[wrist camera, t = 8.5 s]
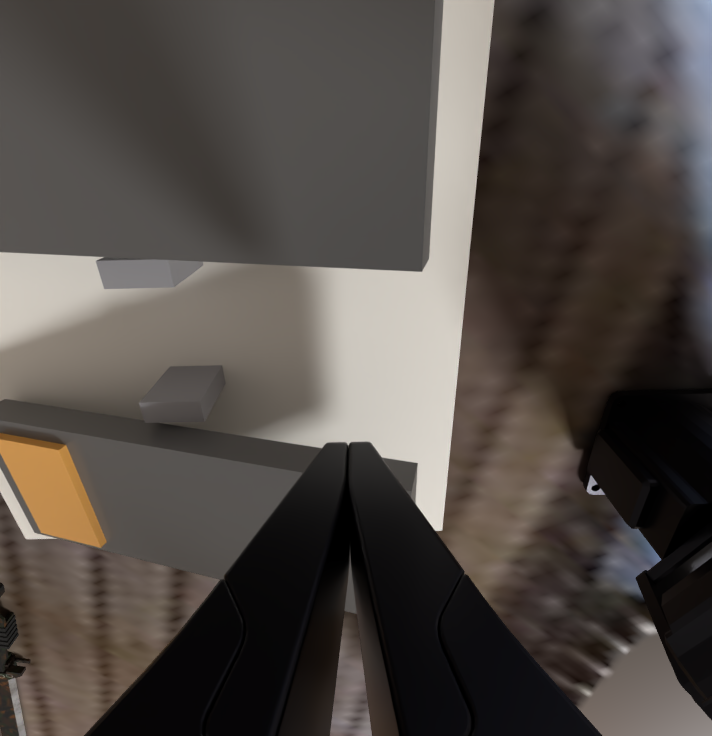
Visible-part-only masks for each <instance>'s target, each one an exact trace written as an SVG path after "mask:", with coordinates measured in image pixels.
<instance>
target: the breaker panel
mask: <svg viewBox="0 0 712 736" xmlns="http://www.w3.org/2000/svg"><path fill="white" fill-rule="evenodd" d="M494 1H495V0H444V2H443V20H442V38H441V55H440V73H439V91H438V109H437V127H436V145H435V163H434V180H433V198H432V216H431V234H430V252H429V260H428V262H427V264H426V265H425V267H424V269H423V271H422V272H414V271H392V270H371V269H349V268H328V267H307V266H285V265H264V264H242V263H221V262H199V261H178V260H156V259H135V258H113V257H92V256H70V255H49V254H28V253H6V252H0V401H2V400H4V399H9V400H16V401H22V402H28V403H35V404H41V405H48V406H54V407H61V408H67V409H73V410H80V411H86V412H93V413H99V414H106V415H112V416H118V417H125V418H131V419H138V420H144V421H145V423H163V424H170V425H176V426H183V427H189V428H196V429H202V430H208V431H215V432H221V433H228V434H234V435H240V436H247V437H253V438H260V439H266V440H273V441H279V442H285V443H292V444H298V445H305V446H311V447H318V448H322V447H323V446H324V445H325V444H326V443H328V442H346V443H347V444H348V446H349V443H351V442H364V441H368V442H371V443H372V444H373V446H374V447H375V449H376V450H377V451H378V453H379V454H380V455H381V457H382V458H388V459H395V460H401V461H408V462H414V463H418V467H417V485H416V503H415V504H416V505H417V506H418V508H419V509H420V511H421V512H422V513H423V515H424V516H425V517H426V519H427V520H428V522H429V523H430V524H431V526H432V527H433V528H434V530H435V531H442V526H443V516H444V506H445V496H446V485H447V475H448V465H449V455H450V445H451V435H452V425H453V415H454V405H455V395H456V384H457V374H458V364H459V354H460V344H461V334H462V324H463V314H464V304H465V294H466V283H467V273H468V263H469V253H470V243H471V233H472V223H473V213H474V203H475V193H476V182H477V172H478V162H479V152H480V142H481V132H482V122H483V112H484V102H485V92H486V81H487V71H488V61H489V51H490V41H491V31H492V21H493V11H494ZM0 492H1V494H2V496H3V498H4V500H5V502H6V503H7V505H8V507H9V509H10V511H11V513H12V514H13V516H14V518H15V520H16V522H17V524H18V525H19V527H20V529H21V531H22V533H23V535H24V536H25V538H26V539H57V538H53V537H49V536H45V535H41V534H37V533H34V531H33V529H32V527H31V525H30V523H29V522H28V520H27V518H26V516H25V514H24V512H23V510H22V508H21V506H20V504H19V502H18V501H17V499H16V497H15V495H14V493H13V491H12V489H11V487H10V485H9V483H8V482H7V480H6V478H5V476H4V474H3V472H2V470H1V468H0Z"/></svg>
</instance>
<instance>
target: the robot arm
mask: <svg viewBox="0 0 712 736" xmlns="http://www.w3.org/2000/svg"><path fill="white" fill-rule="evenodd" d="M620 400H622V402H621V403H619V404H617V403H618V402H619V401H620ZM583 486H584V488H585V489H586V490H587V492H588V493H589V494H593V495H601V494H605V495H606V496H607V498H608V499H609V500H610V502H611V503H612V504H613V506H614V507H615V509H616V510H617V511H618V513H619V514H620V515H621V517H622V518H623V519H624V521H625V522H626V524H628V525H629V526H630V527H631V528H632V529H639V530H640V532H641V533H642V534H643V536H644V537H645V538H646V539H647V541H648V542H649V543H650V545H651V546H652V547H653V549H654V550H655V551H656V553H657V554H658V555H659V557H660V558H661V559H662V560H661V561H660V562H659V563H657V564H656V565H655V566H654V567H652V568H651V569H650V570H648V571H647V570H644V571H643V572H642V573H641V574H639V575H638V576H637V577H636V580H637V583H638V585H639V588H640V590H641V593H642V595H643V597H644V600H645V602H646V605H647V607H648V610H649V612H650V615H651V617H652V619H653V622H654V624H655V627H656V629H657V632H658V634H659V637H660V639H661V641H662V644H663V646H664V648H665V651H666V654H667V656H668V659H669V661H670V662H671V665H672V667H673V670H674V672H675V674H676V677H677V679H678V681H679V683H680V684H681V686H682V687H683V688H684V689H685V690H686V691H687V692H688V693H689V694H690V695H691V696H692V698H693V699H694V701H695V702H696V703H697V704H698V705H699V706H700V707H701V709H702V710H703V711H704V712H705V713H706V714H707V716H708V717H709V718H711V720H712V389H698V390H653V391H619V392H615V393H613V394H612V395H611V396H610V397H609V399H608V401H607V405H606V408H605V411H604V415H603V418H602V422H601V425H600V428H599V431H598V433H597V435H596V438H595V442H594V445H593V449H592V452H591V455H590V459H589V462H588V466H587V473H586V476H585V479H584V483H583ZM350 557H351V571H352V580H353V588H354V596H355V604H356V612H357V620H358V628H359V636H360V643H361V651H362V659H363V667H364V675H365V683H366V691H367V699H368V707H369V714H370V722H371V730H372V736H602V735H601V734H600V733H599V731H598V730H597V729H596V728H595V727H594V726H593V725H592V723H591V722H590V721H589V720H588V719H587V718H586V717H585V716H584V715H583V714H582V712H581V711H580V710H579V709H578V708H577V707H576V706H575V705H574V703H573V702H572V701H571V700H570V699H569V698H568V697H567V696H566V694H565V693H564V692H563V691H562V690H561V689H560V688H559V687H558V686H557V684H556V683H555V682H554V681H553V680H552V679H551V678H550V677H549V676H548V674H547V673H546V672H545V671H544V670H543V669H542V668H541V667H540V665H539V664H538V663H537V662H536V661H535V660H534V658H533V657H532V656H531V655H530V654H529V653H528V652H527V650H526V649H525V648H524V647H523V646H522V645H521V643H520V642H519V641H518V640H517V639H516V638H515V636H514V635H513V634H512V633H511V632H510V631H509V629H508V628H507V627H506V626H505V624H504V623H503V622H502V620H501V619H500V618H499V617H498V615H497V614H496V613H495V611H494V610H493V609H492V607H491V606H490V605H489V604H488V602H487V601H486V600H485V598H484V597H483V596H482V594H481V593H480V592H479V590H478V589H477V587H476V586H475V585H474V583H473V582H472V581H471V579H470V578H469V576H468V575H466V574H464V570H463V568H462V567H461V566H460V564H459V563H458V562H457V560H456V559H455V557H454V556H453V555H452V553H451V552H450V551H449V549H448V548H447V546H446V545H445V544H444V542H443V541H442V540H441V538H440V537H439V535H438V534H437V533H436V531H435V530H434V528H433V527H432V526H431V524H430V523H429V522H428V520H427V519H426V517H425V516H424V515H423V513H422V512H421V511H420V509H419V508H418V506H417V505H416V504H415V502H414V501H413V500H412V498H411V497H410V495H409V494H408V493H407V491H406V490H405V489H404V487H403V486H402V484H401V483H400V482H399V480H398V479H397V477H396V476H395V475H394V473H393V472H392V471H391V469H390V468H389V466H388V465H387V464H386V462H385V461H384V460H383V458H382V457H381V455H380V454H379V453H378V451H377V450H376V449H375V447H374V446H373V444H372V443H371V442H368V441H364V442H351V443H349V446H348V444H347V443H346V442H328V443H326V444H325V445H324V446H323V447H322V449H321V450H320V451H319V453H318V454H317V455H316V457H315V458H314V459H313V460H312V462H311V463H310V464H309V466H308V467H307V468H306V470H305V471H304V472H303V473H302V475H301V476H300V477H299V479H298V480H297V481H296V483H295V484H294V485H293V486H292V488H291V489H290V490H289V492H288V493H287V494H286V496H285V497H284V498H283V499H282V501H281V502H280V503H279V505H278V506H277V507H276V509H275V510H274V511H273V512H272V514H271V515H270V516H269V518H268V519H267V520H266V522H265V523H264V524H263V525H262V527H261V528H260V529H259V531H258V532H257V533H256V535H255V536H254V537H253V538H252V540H251V541H250V542H249V544H248V545H247V546H246V547H245V549H244V550H243V551H242V553H241V554H240V555H239V557H238V558H237V559H236V560H235V562H234V563H233V564H232V566H231V567H230V568H229V570H228V571H227V572H226V573H225V575H224V579H221V580H220V581H219V582H218V583H217V585H216V586H215V587H214V589H213V590H212V591H211V593H210V594H209V595H208V597H207V598H206V599H205V600H204V602H203V603H202V604H201V605H200V607H199V608H198V609H197V610H196V611H195V613H194V614H193V615H192V616H191V618H190V619H189V620H188V621H187V623H186V624H185V625H184V626H183V627H182V629H181V630H180V631H179V632H178V634H177V635H176V636H175V637H174V638H173V639H172V640H171V641H170V643H169V644H168V645H167V646H166V647H165V648H164V649H163V650H162V652H161V653H160V654H159V655H158V656H157V657H156V658H155V659H154V660H153V662H152V663H151V664H150V665H149V666H148V667H147V668H146V669H145V671H144V672H143V673H142V674H141V675H140V676H139V677H138V678H137V679H136V680H135V681H134V682H133V684H132V685H131V686H130V687H129V688H128V689H127V690H126V691H125V692H124V693H123V694H122V695H121V696H120V698H119V699H118V700H117V701H116V702H115V703H114V704H113V705H112V706H111V707H110V708H109V709H108V710H107V712H106V713H105V714H104V715H103V716H102V717H101V718H100V719H99V720H98V721H97V722H96V723H95V724H94V725H93V727H92V728H91V729H90V730H89V731H88V732H87V733H86V734H85V735H84V736H330V728H331V720H332V711H333V703H334V694H335V686H336V678H337V669H338V661H339V652H340V644H341V636H342V627H343V619H344V610H345V602H346V594H347V585H348V577H349V565H350Z"/></svg>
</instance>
